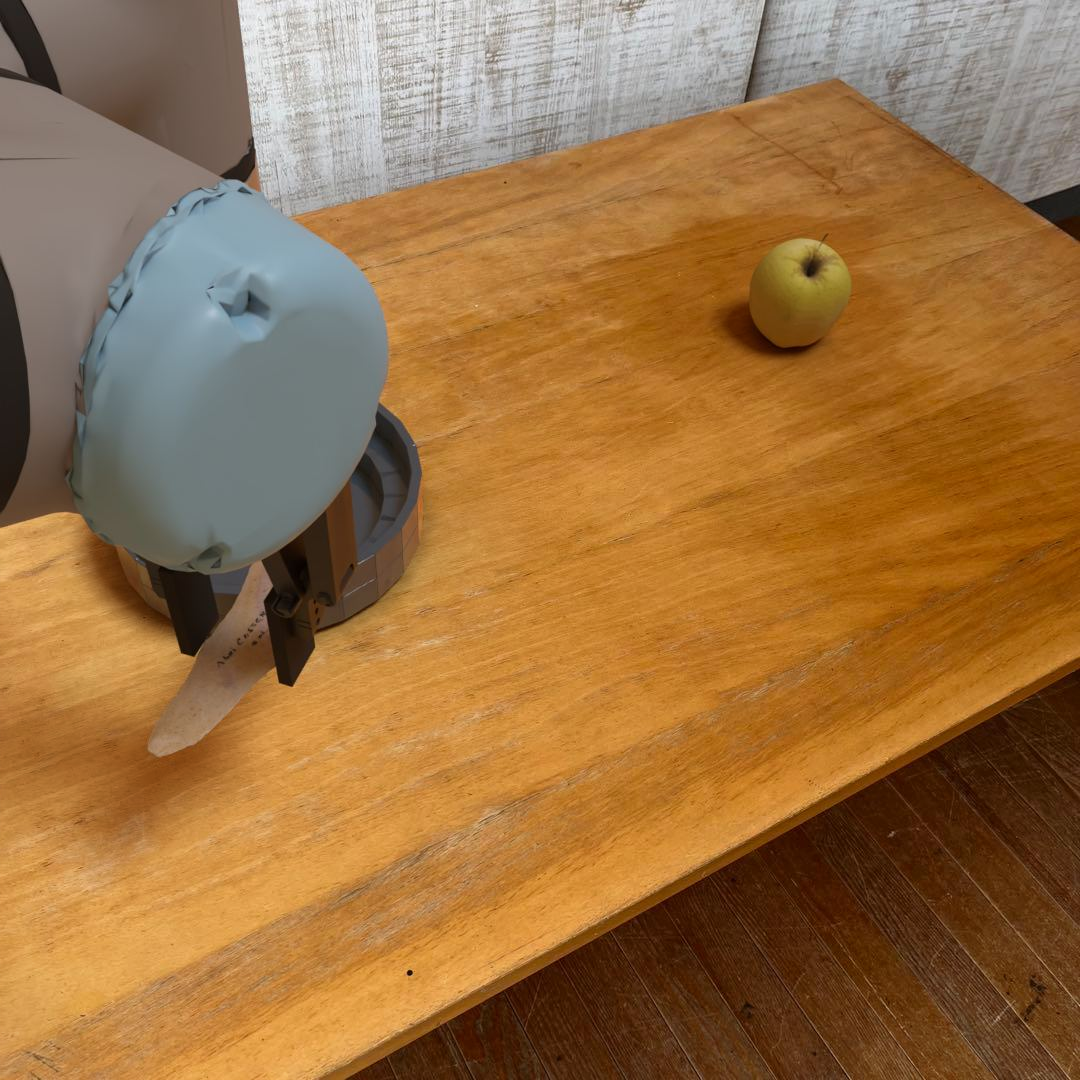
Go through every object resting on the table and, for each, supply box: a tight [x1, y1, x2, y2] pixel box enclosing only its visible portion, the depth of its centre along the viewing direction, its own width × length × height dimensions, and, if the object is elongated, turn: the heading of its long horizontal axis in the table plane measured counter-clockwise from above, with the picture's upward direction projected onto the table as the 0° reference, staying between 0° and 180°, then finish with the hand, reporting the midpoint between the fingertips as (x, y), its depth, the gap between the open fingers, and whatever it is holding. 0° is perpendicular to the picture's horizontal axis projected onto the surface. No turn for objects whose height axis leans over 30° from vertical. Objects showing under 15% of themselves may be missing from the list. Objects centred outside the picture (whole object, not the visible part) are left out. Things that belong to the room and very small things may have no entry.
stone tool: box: [146, 561, 276, 759], centre depth 60 cm, size 5×2×15 cm
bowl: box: [114, 401, 424, 635], centre depth 79 cm, size 20×20×5 cm
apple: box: [748, 232, 853, 349], centre depth 95 cm, size 8×8×10 cm
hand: (248, 649), depth 60 cm, fingers closed on stone tool, 5 cm apart
